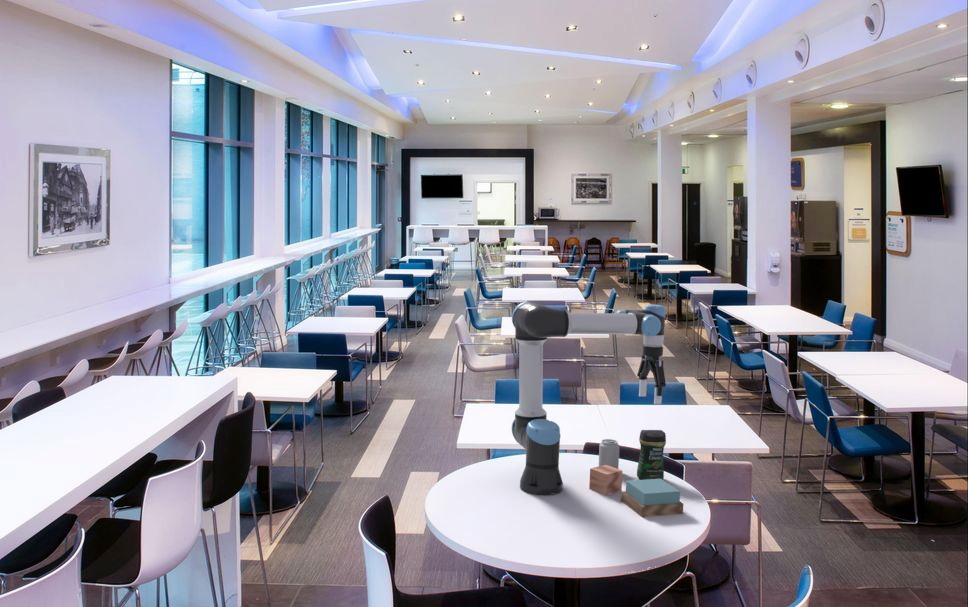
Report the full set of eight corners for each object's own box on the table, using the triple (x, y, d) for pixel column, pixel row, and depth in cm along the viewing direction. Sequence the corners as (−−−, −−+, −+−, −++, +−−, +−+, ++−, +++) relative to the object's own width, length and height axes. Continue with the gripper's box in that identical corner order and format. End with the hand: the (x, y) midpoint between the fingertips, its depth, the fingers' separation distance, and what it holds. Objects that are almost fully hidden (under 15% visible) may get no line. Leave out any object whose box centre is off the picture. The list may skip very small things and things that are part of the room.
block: (606, 495, 272) (607, 474, 271) (589, 489, 278) (590, 468, 278) (621, 491, 277) (622, 470, 276) (604, 484, 283) (605, 464, 283)
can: (617, 475, 294) (619, 444, 293) (597, 473, 296) (599, 442, 295) (618, 469, 302) (620, 439, 300) (598, 467, 303) (600, 437, 302)
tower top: (643, 505, 253) (644, 493, 253) (625, 492, 266) (626, 480, 265) (679, 502, 257) (680, 491, 257) (659, 489, 270) (660, 478, 269)
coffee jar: (641, 482, 287) (644, 433, 285) (634, 475, 295) (636, 427, 293) (666, 482, 288) (669, 432, 286) (658, 475, 296) (661, 427, 294)
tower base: (641, 519, 253) (642, 507, 252) (620, 502, 267) (621, 491, 267) (682, 515, 257) (683, 503, 256) (660, 499, 271) (660, 488, 271)
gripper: (677, 350, 287) (673, 407, 289) (648, 340, 311) (645, 393, 313) (658, 350, 285) (654, 407, 287) (630, 340, 309) (627, 393, 311)
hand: (649, 400), depth 300 cm, fingers open, 13 cm apart
